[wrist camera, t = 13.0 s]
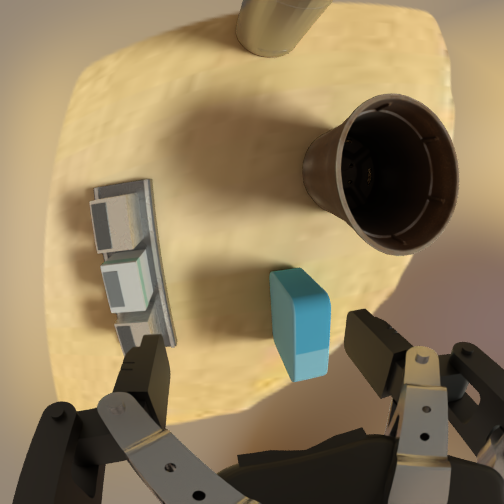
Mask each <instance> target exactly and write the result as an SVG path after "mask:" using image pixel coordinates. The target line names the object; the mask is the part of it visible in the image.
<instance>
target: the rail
mask: <svg viewBox="0 0 504 504" xmlns="http://www.w3.org/2000/svg"><path fill="white" fill-rule="evenodd" d="M94 197H95V200H93V201H89V203H90V211H91V218H92V225H93V232H94V238H95V244H96V249H97V254H99V253H103V257H104V262H105V261H106V260H107V259H109V258H110V257H111V256H112V255H113V254H114V253H118V252H127V251H135V250H143V249H146V254H147V260H148V266H149V271H150V277H151V282H152V287H153V294H152V296H151V298H150V301H149V303H148V307H147V308H146V311H134V312H121V313H116V314H117V317H118V318H117V320H116V322H115V323H114V325H115V329H116V332H117V335H118V339H119V342H120V345H121V348H122V351H123V354H124V357H125V355H126V353H127V352H128V351H129V350H130V349H131V348H132V347H140V344H141V341H142V338H143V335H148V334H162V336H163V340H164V344H165V347H168V346H171V348H174V347H175V346H177V338H176V333H175V328H174V324H173V319H172V314H171V309H170V304H169V298H168V293H167V287H166V282H165V276H164V270H163V264H162V257H161V251H160V244H159V237H158V229H157V221H156V213H155V204H154V194H153V184H152V179H146V180H140V181H133V182H127V183H121V184H115V185H109V186H103V187H98V188H94Z"/></svg>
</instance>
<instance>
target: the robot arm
mask: <svg viewBox="0 0 504 504" xmlns="http://www.w3.org/2000/svg"><path fill="white" fill-rule="evenodd" d="M332 1H333V0H243V2H242V6H241V10H240V13H239V17H238V21H237V25H236V35H237V38H238V40H239V42H240V43H241V44H242V45H243V46H244V47H245V48H246V49H247V50H249V51H250V52H252V53H254V54H256V55H260V56H263V57H279V56H283V55H285V54H288V53H289V52H290V51H292V50H293V49H294V47H295V46H296V45H297V44H298V42H299V41H300V40H301V39H302V38H303V36H304V35H305V34H306V33H307V31H308V30H309V29H310V28H311V26H312V25H313V24H314V23H315V22H316V20H317V19H318V18H319V17H320V16H321V14H322V13H323V12H324V11H325V10H326V8H327V7H328V6H329V5H330V4H331V3H332ZM344 347H345V351H346V353H347V355H348V356H349V357H350V359H351V360H352V361H353V362H354V364H355V365H356V366H357V368H358V369H359V370H360V372H361V373H362V374H363V376H364V377H365V379H366V380H367V381H368V383H369V384H370V385H371V387H372V388H373V389H374V391H375V392H376V393H377V395H378V396H379V397H380V398H381V399H382V398H385V397H387V396H390V395H391V396H392V397H393V398H392V401H391V405H390V410H389V415H388V420H387V425H386V430H385V434H384V435H379V434H371V435H370V434H369V435H366V433H365V431H364V430H363V428H359V429H355V430H352V431H349V432H346V433H343V434H339V435H336V436H333V437H331V438H329V439H327V440H326V441H324V442H322V443H320V444H318V445H316V446H314V447H311V448H309V449H307V450H300V451H299V450H296V451H295V450H294V451H278V450H270V451H263V452H257V453H250V454H242V455H237V456H238V464H235V465H232V466H230V467H228V468H225V469H223V470H222V471H220V472H218V473H217V474H216V473H215V472H213V471H212V470H211V469H210V468H209V467H208V466H206V465H205V464H204V463H203V462H202V461H201V460H200V459H199V458H197V457H196V456H195V455H194V454H193V453H192V452H191V451H190V450H189V449H188V448H187V447H186V446H185V445H183V444H182V443H181V442H180V441H179V440H178V439H177V438H176V437H175V436H174V435H173V434H172V433H171V432H170V431H169V430H168V429H165V427H166V415H167V405H168V395H169V385H170V366H169V361H168V357H167V353H166V349H165V344H164V340H163V336H162V334H148V335H143V338H142V341H141V344H140V347H132V348H131V349H130V350H129V351H128V352H127V353H126V355H125V357H124V360H123V364H122V366H121V370H120V372H119V375H118V377H117V380H116V383H115V386H114V389H113V392H112V393H110V394H108V395H106V396H104V397H103V398H102V399H101V400H100V401H99V403H98V406H97V408H94V409H89V410H83V411H76V409H75V408H74V406H73V405H72V404H70V403H68V402H56V403H53V404H51V405H49V406H48V407H47V408H46V409H45V410H44V412H43V414H42V417H41V419H40V421H39V424H38V426H37V429H36V431H35V434H34V436H33V439H32V442H31V444H30V447H29V450H28V453H27V456H26V459H25V461H24V464H23V468H22V471H21V474H20V477H19V481H18V484H17V488H16V491H15V495H14V499H13V503H12V504H101V501H102V491H103V482H104V473H105V466H106V464H108V463H113V462H119V461H124V460H127V461H128V463H129V464H130V465H131V467H132V468H133V469H134V471H135V472H136V473H137V475H138V476H139V477H140V478H141V480H142V481H143V482H144V483H145V485H146V486H147V487H148V488H149V489H150V490H151V492H152V493H153V494H154V495H155V496H156V498H157V499H158V500H159V501H160V503H161V504H504V369H502V368H501V367H500V366H499V365H498V364H497V363H495V362H494V361H493V360H492V359H491V358H490V357H489V356H487V355H486V354H485V353H484V352H483V351H481V350H480V349H479V348H478V347H477V346H475V345H474V344H471V343H467V342H459V343H456V344H455V345H454V346H453V349H452V352H451V354H447V355H437V353H436V352H435V351H434V350H432V349H430V348H428V347H423V346H416V347H413V346H412V345H411V344H410V343H409V342H408V341H407V340H406V339H405V338H404V337H402V336H401V335H400V334H399V333H397V331H396V330H394V328H392V327H391V326H390V325H389V324H388V323H387V322H386V321H384V320H382V319H379V318H377V317H374V316H373V315H372V314H371V313H370V312H368V311H367V310H366V309H360V310H355V311H350V312H348V314H347V320H346V329H345V337H344ZM469 383H470V384H471V385H472V386H473V387H474V388H475V389H476V390H477V391H478V392H479V394H480V398H481V399H480V403H479V405H477V404H476V403H475V402H474V401H473V400H472V398H471V397H470V396H469V395H468V394H467V393H466V392H465V390H466V388H467V386H468V384H469ZM448 420H449V421H450V423H451V424H452V425H453V427H454V428H455V429H456V430H457V432H458V433H459V434H460V435H461V437H462V438H463V440H464V441H465V442H466V444H467V445H468V446H469V448H470V449H471V450H472V452H473V453H474V454H475V456H476V457H477V463H475V462H471V461H467V460H464V459H460V458H456V457H453V456H450V455H447V452H448Z"/></svg>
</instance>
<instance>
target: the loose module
mask: <svg viewBox="0 0 504 504" xmlns="http://www.w3.org/2000/svg"><path fill="white" fill-rule="evenodd" d="M100 267H101V272H102V277H103V281H104V285H105V290H106V294H107V298H108V302H109V306H110V309H111V313H121V312H134V311H146V308H147V307H148V303H149V301H150V298H151V296H152V294H153V287H152V282H151V277H150V271H149V266H148V260H147V254H146V249H143V250H135V251H127V252H118V253H114V254H113V255H112V256H111V257H110V258H109V259H107V260H106V261H105V262H104V263H103V264H102V265H101V266H100Z"/></svg>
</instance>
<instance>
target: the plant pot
mask: <svg viewBox="0 0 504 504" xmlns="http://www.w3.org/2000/svg"><path fill="white" fill-rule="evenodd" d="M345 139H348V140H350V141H351V143H347V142H345ZM351 163H353V167H352V168H351V167H350V164H351ZM369 168H370V169H371V180H370V184H369V185H368V169H369ZM303 180H304V185H305V187H306V190H307V192H308V194H309V195H310V196H311V197H312V199H313V200H314V201H315V202H316V204H317V205H318V206H320V207H321V208H323V209H324V210H326V211H328V212H330V213H332V214H334V215H335V216H337V217H339V218H341V219H342V220H344V221H346V222H347V224H348V225H349V226H350V227H352V228H353V229H354V230H355V231H356V233H357V234H358V235H359V236H360V237H361V238H362V239H363V240H364V241H365V242H366V243H368V244H369V245H370V246H372V247H373V248H375V249H377V250H378V251H381V252H383V253H386V254H389V255H395V256H405V255H411V254H415V253H417V252H420V251H422V250H424V249H426V248H427V247H428V246H430V245H431V244H432V243H433V242H434V241H435V240H436V239H437V238H438V237H439V236H440V235H441V234H442V232H443V231H444V230H445V228H446V226H447V225H448V223H449V221H450V219H451V217H452V215H453V212H454V209H455V206H456V203H457V198H458V190H459V168H458V161H457V156H456V152H455V149H454V146H453V143H452V140H451V138H450V136H449V134H448V132H447V130H446V128H445V127H444V125H443V124H442V122H441V121H440V119H439V118H438V117H437V116H436V115H435V114H434V113H433V112H432V111H431V110H430V109H429V108H428V107H427V106H425V105H424V104H423V103H421V102H419V101H417V100H415V99H413V98H410V97H408V96H405V95H401V94H383V95H378V96H375V97H373V98H371V99H369V100H367V101H365V102H364V103H362V104H361V105H360V106H359V107H357V108H356V109H355V110H354V111H353V112H352V114H351V115H350V116H349V117H348V118H347V119H346V120H345V121H344V122H343V123H342V124H341V125H339V126H338V127H336V128H334V129H333V130H331V131H329V132H327V133H325V134H323V135H322V136H320V137H319V138H317V139H316V140H315V141H314V142H313V143H312V144H311V145H310V147H309V148H308V150H307V152H306V155H305V158H304V162H303ZM349 180H351V181H352V184H349V183H348V181H349Z"/></svg>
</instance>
